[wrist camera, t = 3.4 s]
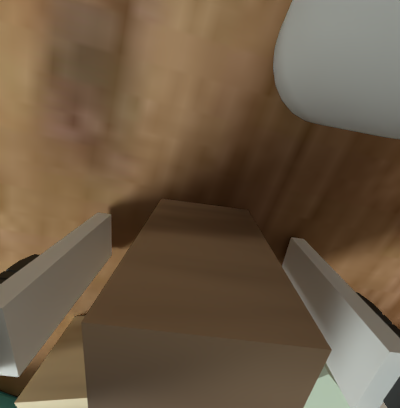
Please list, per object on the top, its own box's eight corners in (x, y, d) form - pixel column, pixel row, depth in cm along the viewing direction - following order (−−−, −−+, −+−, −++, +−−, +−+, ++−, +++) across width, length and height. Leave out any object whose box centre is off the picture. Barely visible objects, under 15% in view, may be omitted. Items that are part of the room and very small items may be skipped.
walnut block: (161, 198, 11) (81, 322, 4) (247, 209, 12) (331, 350, 4) (156, 271, 13) (91, 458, 6) (231, 280, 13) (270, 474, 6)
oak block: (75, 315, 15) (14, 402, 10) (143, 309, 14) (113, 396, 10) (96, 362, 16) (51, 457, 11) (157, 357, 16) (137, 452, 11)
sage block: (246, 333, 15) (261, 401, 11) (295, 309, 14) (328, 373, 10) (285, 377, 16) (309, 450, 13) (331, 358, 16) (371, 429, 12)
